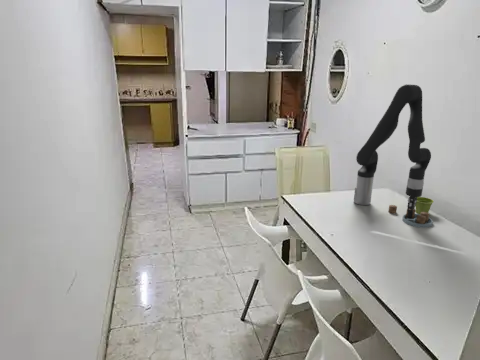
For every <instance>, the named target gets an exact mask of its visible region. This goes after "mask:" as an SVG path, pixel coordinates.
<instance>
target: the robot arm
mask: <svg viewBox="0 0 480 360" xmlns="http://www.w3.org/2000/svg"><path fill="white" fill-rule="evenodd" d="M407 104H408V106H409V113H410V115H409V120H408V123H407V133H408V134H407V135H408V140H409V143H408V150H407V153H408V154H407V156H408V160H409V161H410V162H411V163H415V164H414V165H412V166H411V167H410V168H409V171H408V172H409V173H408V178H407V182H406V189H405V195H406V196H408V199H407V205H406V207H407V209H406V212H408V214H407V218H408V219H412V213H413V209H415V210H416V202H417V197H423V196H422V195H423V189H424V184H425V183H424V182H425V181H424V180H425V173H426V170H427V168H428V166H429V164H430V162H431V159H432V152H431V150H430V149H429V148H426V147H421V144H423V143H425V141H426V137H425V130H424V129H425V128H424V123H423V91H422V88H421V87H420V86H419V85H416V84H403V85H401V86H400V87H398V89H397V91H395V94H394V96H393V99H392V100H391V102H390V104H389V105H388V108H387V109H386V111H385V113H384V114H383V116H382V117H381V119H380V120H379V121H378V123H377V124H376V127H375V128H374V130H373V131H372V133H371V134H370V135H369V138H368V139H367V141H366V142H365V143H364V144H363V146H362V147H361V148H360V150H358V152H357V154H356V159H355V160H356V163H357V164H358V165H359V166H361V167H360V168H359V169H358V170H357V176H356V185H355V188H354V194H353V195H354V196H353V203H355V204H357V205H361V206H369V205H371V202H372V193H373V186H374V178H375V173H376V172H377V167H378V162H379V154H378V152H377V150H378V148H380V146H382V145H383V144H384V143H385V142H386V141H388V139H390V138H391V137H392V135H393V134H394V132H395V131H396V129H397V128H398V125H399V117H400V114H401V112H402V111H403V109H404V108H405V107H406V105H407ZM409 209H412V210H409Z"/></svg>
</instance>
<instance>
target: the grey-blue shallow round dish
mask: <svg viewBox="0 0 480 360" xmlns="http://www.w3.org/2000/svg"><path fill="white" fill-rule="evenodd" d="M417 215H420V214H417V213H415V216H414V219H408V218H406V213H405V214H403V215H402V221H403V223H404V224H407V225H409V226H411V227H415V228H430V227H432V226H433V224H434V223H433V222H434V221H433V219H432V218H431V217H429V219H428V223H425V224H418V223H416V220H417Z"/></svg>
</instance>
